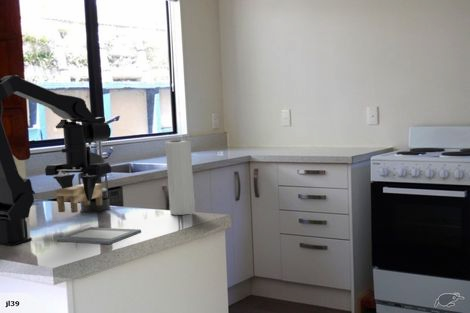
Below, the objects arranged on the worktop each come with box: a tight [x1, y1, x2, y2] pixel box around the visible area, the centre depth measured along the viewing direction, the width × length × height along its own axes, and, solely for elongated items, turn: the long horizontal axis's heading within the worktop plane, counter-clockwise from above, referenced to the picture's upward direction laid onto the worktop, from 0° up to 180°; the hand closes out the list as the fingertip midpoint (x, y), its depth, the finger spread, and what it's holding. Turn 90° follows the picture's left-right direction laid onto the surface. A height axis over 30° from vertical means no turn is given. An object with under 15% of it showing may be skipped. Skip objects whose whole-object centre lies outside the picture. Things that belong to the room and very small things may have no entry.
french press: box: [77, 142, 111, 213], centre depth 187 cm, size 12×9×23 cm
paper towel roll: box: [164, 140, 196, 216], centre depth 171 cm, size 7×6×21 cm
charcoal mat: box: [56, 226, 142, 245], centre depth 148 cm, size 13×16×1 cm
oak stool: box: [55, 183, 103, 214], centre depth 162 cm, size 12×6×6 cm, turn 154°
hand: (80, 200), depth 162 cm, fingers closed on oak stool, 6 cm apart
